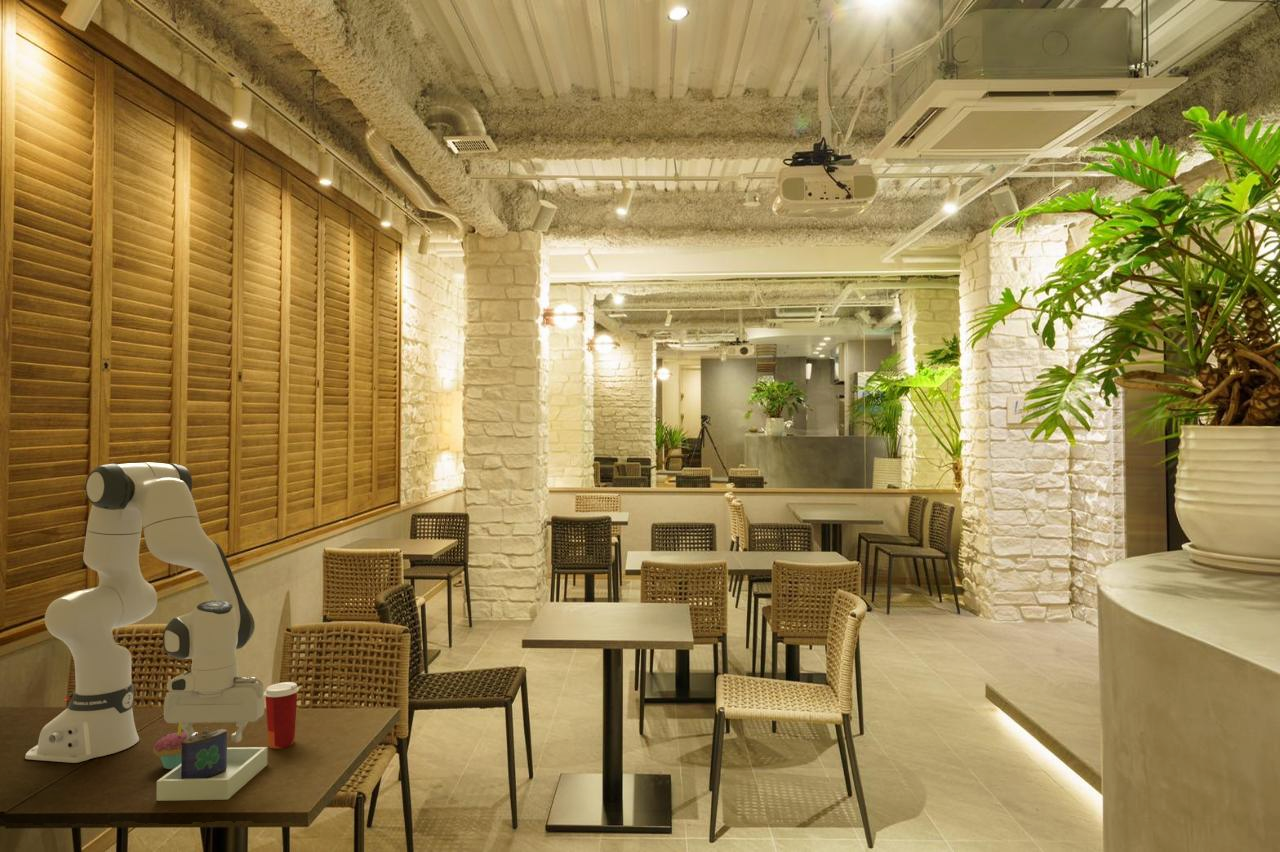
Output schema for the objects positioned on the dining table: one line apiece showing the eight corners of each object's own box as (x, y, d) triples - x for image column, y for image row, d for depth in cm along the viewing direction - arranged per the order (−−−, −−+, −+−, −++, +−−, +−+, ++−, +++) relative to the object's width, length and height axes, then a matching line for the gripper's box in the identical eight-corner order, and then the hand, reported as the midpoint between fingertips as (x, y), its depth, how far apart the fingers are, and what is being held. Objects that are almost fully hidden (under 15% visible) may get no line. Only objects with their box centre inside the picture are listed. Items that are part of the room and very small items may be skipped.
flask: (223, 767, 166) (224, 719, 166) (229, 771, 165) (231, 722, 165) (178, 783, 159) (179, 733, 159) (184, 787, 157) (185, 736, 157)
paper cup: (305, 738, 185) (305, 681, 186) (287, 751, 178) (287, 691, 178) (275, 737, 186) (275, 681, 186) (256, 750, 178) (256, 691, 179)
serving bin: (156, 800, 153) (156, 781, 154) (203, 765, 170) (203, 748, 170) (227, 799, 154) (227, 779, 154) (267, 764, 170) (267, 746, 170)
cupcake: (205, 759, 173) (205, 707, 174) (172, 775, 165) (172, 720, 166) (178, 755, 176) (178, 704, 176) (143, 770, 168) (144, 716, 168)
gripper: (269, 672, 166) (269, 735, 165) (177, 673, 165) (177, 736, 165) (255, 681, 159) (255, 747, 159) (159, 683, 159) (158, 748, 159)
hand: (214, 741), depth 162 cm, fingers open, 8 cm apart
